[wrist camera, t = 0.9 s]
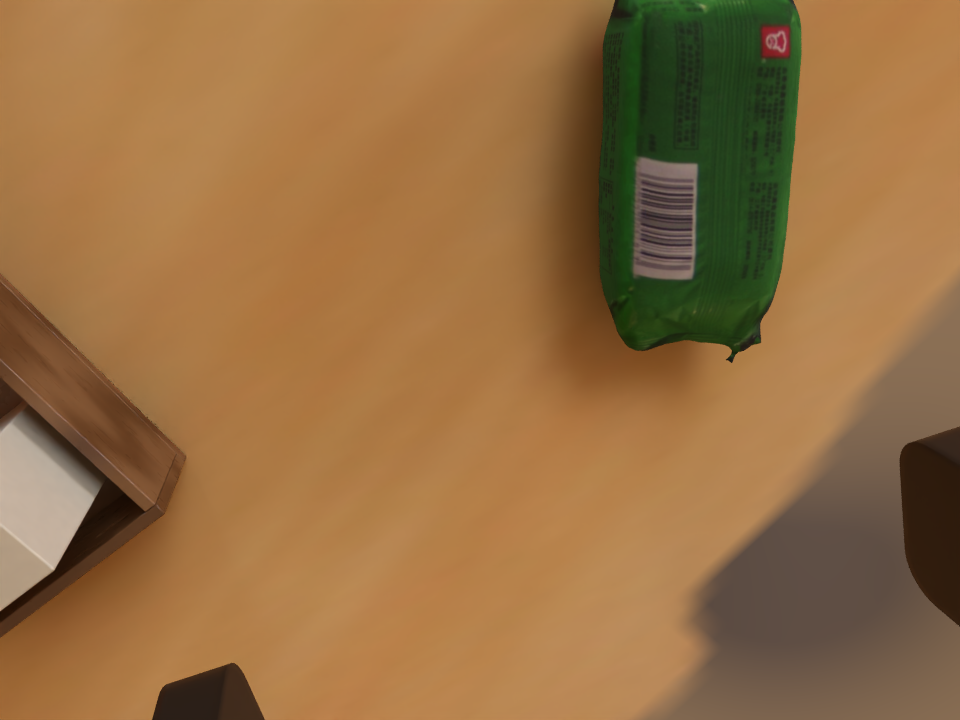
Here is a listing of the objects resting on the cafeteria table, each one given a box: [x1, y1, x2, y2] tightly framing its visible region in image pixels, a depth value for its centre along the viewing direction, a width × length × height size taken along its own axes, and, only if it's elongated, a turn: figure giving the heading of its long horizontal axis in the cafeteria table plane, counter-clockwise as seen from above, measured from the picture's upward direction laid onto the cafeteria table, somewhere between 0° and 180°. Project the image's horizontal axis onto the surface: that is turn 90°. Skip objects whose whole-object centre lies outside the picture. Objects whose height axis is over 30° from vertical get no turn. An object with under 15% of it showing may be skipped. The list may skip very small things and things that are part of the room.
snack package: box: [599, 0, 801, 363], centre depth 32 cm, size 7×16×5 cm, turn 2°
